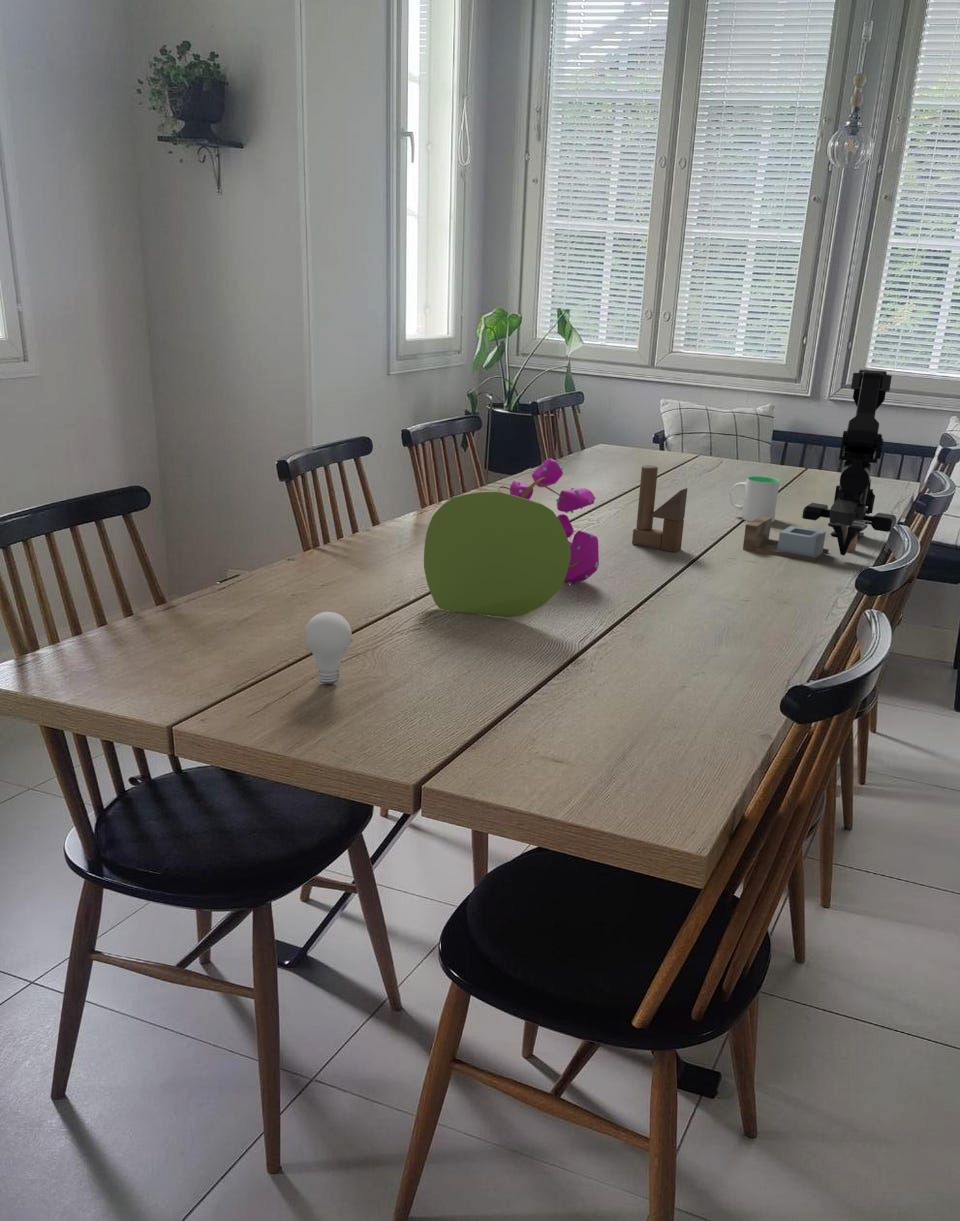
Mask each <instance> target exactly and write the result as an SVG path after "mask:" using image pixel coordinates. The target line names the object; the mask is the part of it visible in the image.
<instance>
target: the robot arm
mask: <svg viewBox="0 0 960 1221" xmlns="http://www.w3.org/2000/svg"><path fill="white" fill-rule="evenodd" d="M858 371H859V372H853V373H852V379H851V385H850V390H853V395H852V399H853V401H854V404H855V405H856V406H855V407H856V413H855V416H854V417H852V418H851V419H849V421H848V424H847V430H843V432H842V438H841V445H840V451H839V456H838V460H840V461H843V463H842V469H841V470H842V471H841V473H840V477H839V485H836V487H835V492H834V497H833V499H834V501H833V504H832V505H831V507H830V509H829V506H828V504H825V503H824V504H823V503H815V502H811V503H810V504H808V505H806V506H804V508H803V511H802V515H801V518H802V519H804V520H809V521H815V522H816V521H817V520H819V519H820V518H827V519H829V522H828V523H827V525H828V527H830V528H832V529H833V531H832V532H831V533H830V536H833V537H836V539H837V543H838V549H839V554H840V556H846V555H847V553H848V552H847V551H848V549H849V547H850V546H851V544H852V542H853V540H854V538H855V537H856V535H857V534H858V537H857V540H859V539H860V538H861V537H863V536H864V535H865V533H864V532H863V531H864V530H866V529H867V528H868V525H870V526H871V527H872V529H873V530H874V531H879V532H886V533H891V532H892V531H893V530H892V528H893V527H894V526H895V525H896V526H897V522H898V521H897V516H896V515H895V514H890V513H883V512H877V513H876V514H875V515H870V514H873V510H874V505H875V499H876V495H875V493H874V489H872V488H871V484H872V479H871V477H870V476H871V470H872V465H871V463H873V464H877V463H878V460H879V459H880V460H881V458H882V453H883V452H882V451H883V446H884V438H883V434H882V433H879V429H880V423H879V421H878V420H877V419H876V411H877V409H878V408H880V406H881V405H882V404H883V403H884V401H885V400H886V393H890V390H891V384H892V378H893V376H892V375H890V374H887V371H885V370H873V369H871V370H870V369H859V370H858ZM843 453H844V454H843ZM874 455H875V456H874ZM850 525H851V526H850ZM847 526H849V527H848V533H847ZM896 526H895V527H896ZM891 530H892V531H891ZM846 534H847V537H846Z"/></svg>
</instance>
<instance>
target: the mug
mask: <svg viewBox="0 0 960 1221" xmlns="http://www.w3.org/2000/svg"><path fill="white" fill-rule="evenodd" d="M737 487H743V489H744V498H743V502H742V504H741V505H739V504H736V503H735V501H734V491H735V489H736V488H737ZM779 488H780V479H779V478H778V479H777V478H775V477H769V476H762V475H761V476H760V475H757V476H748V477H746V481H743V482H742V481H741V482H737V483H735V484H734V485H733V486H731V489H730V492H729V501H730V503H731V505H732V506H733V507H734V508H735V509H738V510H741V511H742V514H741V515H742V517H741V519H742V520H744V521H747V522H752V521H754V520H755V519H757V518H759V517H761V516H764V517H770V518H772V519H771V523H773V522H775V519H776V518H775V517H776V509H777V503H778V497H779V496H778V495H779Z"/></svg>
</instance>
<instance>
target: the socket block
mask: <svg viewBox="0 0 960 1221" xmlns="http://www.w3.org/2000/svg"><path fill="white" fill-rule="evenodd" d="M826 534H827V532H826V531H825V530H820V529H819V530H818V529H811V528H806V527H802V526H801V527H800V526H794V525H790V526H789V525H788V527H786V528H785V529H783V530H781V531H780V532H779V536H778V541H779V542H778V545H777V549H776V551H781V552H787V553H792V554H798V555H804V556H809V557H815V558H818V557H819V556H821V555H822V554H824V553H823V548H824V547H825V546H824V545H825V539H826Z"/></svg>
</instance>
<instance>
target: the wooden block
mask: <svg viewBox="0 0 960 1221" xmlns="http://www.w3.org/2000/svg"><path fill="white" fill-rule="evenodd" d="M658 470H659V468H658V466H656V465H652V464H651V465H650V464H649V465H643V466H641V472H640V474H641V475H640V482H639V483H640V485H639V494H638V503H637V504H638V506H637V517H636V525H635V526H636V528H633V530H632V538H631V539H632V540H631V544H632V545H635V544H636V546H641V547H646V548H652V549H657V550H661V551H666V552H671V553H676V552H679V551H680V550H682V542H683V534H684V533H683V532H684V522H685V520H684V519H685V515H686V513H685V512H686V506H687V504H686V503H687V497H688V496H687V495H688V487H686V488H683V489H680V490H679V491H678V492H677V493H675V494H674V495H673V496H672V497H670V498H669V499H667V501H666V502H664V503H663V504H662V505H661V506H659V507H658V508H657V509H656V510H655V502H656V492H657V491H656V490H657V481H658V473H659V472H658ZM654 518H657V519H663V526H662V530H661V529H656V528H653V525H654V524H653V522H654Z"/></svg>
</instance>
